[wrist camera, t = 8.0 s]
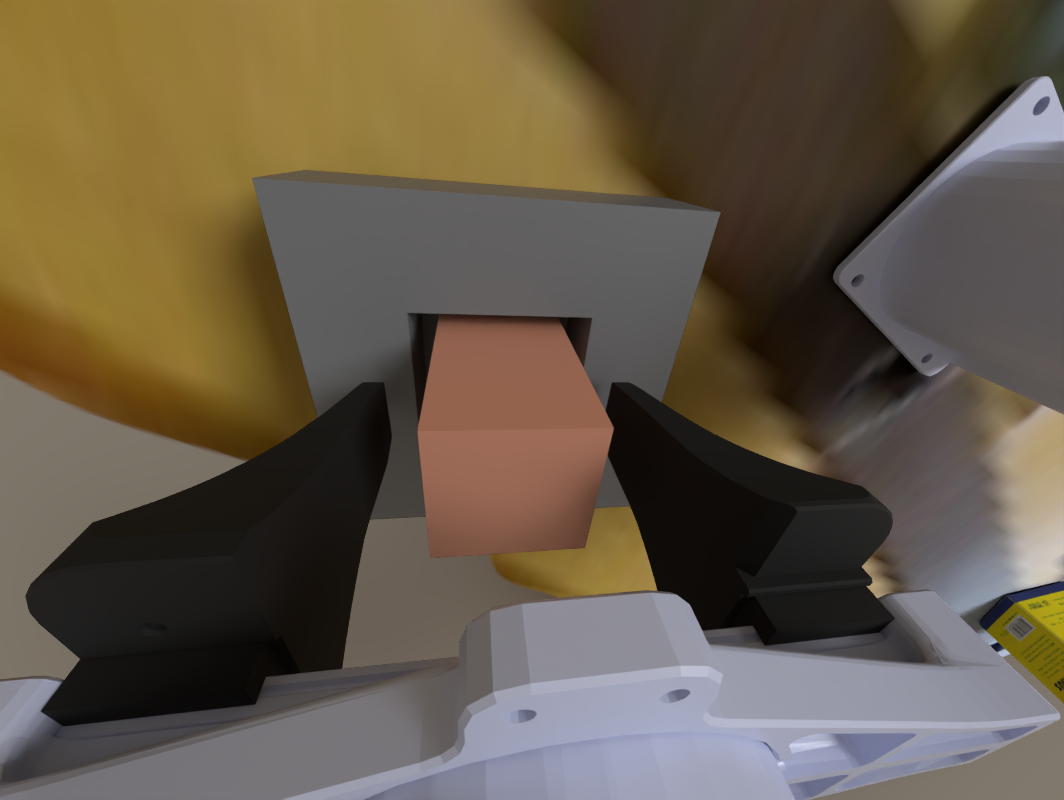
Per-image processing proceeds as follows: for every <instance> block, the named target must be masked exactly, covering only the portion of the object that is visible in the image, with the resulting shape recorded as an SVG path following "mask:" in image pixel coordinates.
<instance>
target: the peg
mask: <svg viewBox="0 0 1064 800" xmlns="http://www.w3.org/2000/svg"><path fill="white" fill-rule="evenodd" d="M613 430H614V427H613V425H612V423H611V421H610V419H609V417H608V415H607V413H606V411H605V409H604V407H603V405H602V404H601V402H600V400H599V398H598V396H597V394H596V392H595V390H594V388H593V386H592V384H591V382H590V380H589V378H588V376H587V374H586V372H585V370H584V368H583V366H582V364H581V362H580V360H579V358H578V356H577V354H576V352H575V350H574V348H573V346H572V344H571V342H570V340H569V338H568V336H567V334H566V332H565V330H564V328H563V326H562V324H561V322H560V320H559V318H558V317H545V316H507V315H470V314H439V319H438V325H437V330H436V335H435V340H434V346H433V351H432V356H431V362H430V367H429V372H428V378H427V383H426V388H425V394H424V399H423V404H422V410H421V415H420V420H419V425H418V431H417V432H418V442H419V452H420V462H421V471H422V481H423V491H424V501H425V510H426V519H427V530H428V539H429V548H430V558H439V557H455V556H470V555H485V554H500V553H515V552H531V551H546V550H561V549H576V548H585V545H586V541H587V537H588V533H589V529H590V525H591V520H592V516H593V512H594V508H595V504H596V500H597V496H598V491H599V487H600V483H601V479H602V475H603V471H604V467H605V463H606V458H607V454H608V450H609V446H610V442H611V438H612V434H613Z"/></svg>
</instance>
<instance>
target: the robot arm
mask: <svg viewBox="0 0 1064 800" xmlns="http://www.w3.org/2000/svg"><path fill="white" fill-rule="evenodd" d="M855 277H856V278H855ZM854 278H855V280H854V281H853V282H852V280H853V279H854ZM833 280H834V282H835V283H836V284H837V285H838V286H839V287H840V288H841V289H842V291H843V292H844V293H845V294H846V295H847V296H848V297H849V298H850V299H851V300H852V301H853V302H854V303H855V304H856V305H857V307H858V308H859V309H860V310H861V311H862V312H863V313H864V314H865V315H866V316H867V317H868V318H869V319H870V320H871V321H872V323H873V324H874V325H875V326H876V327H877V328H878V329H879V330H880V331H881V332H882V333H883V334H884V335H885V336H886V337H887V339H888V340H889V341H890V342H891V343H892V344H893V345H894V346H895V347H896V348H897V349H898V350H899V351H900V352H901V353H902V354H903V356H904V357H905V358H906V359H907V360H908V361H909V362H910V363H911V364H912V365H913V366H914V367H915V368H916V369H917V370H918V372H920V373H922V374H924V375H926V376H931V375H934V374H936V373H938V372H939V371H940V370H942V369H943V368H944V367H946V366H947V365H948V364H949V363H951V364H954V365H956V366H958V367H960V368H962V369H965V370H967V371H969V372H971V373H973V374H976V375H978V376H980V377H982V378H985V379H987V380H989V381H991V382H993V383H996V384H998V385H1000V386H1002V387H1004V388H1007V389H1009V390H1011V391H1013V392H1015V393H1018V394H1020V395H1022V396H1024V397H1026V398H1029V399H1031V400H1033V401H1035V402H1037V403H1040V404H1042V405H1044V406H1046V407H1048V408H1051V409H1053V410H1055V411H1057V412H1059V413H1062V414H1064V112H1063V110H1062V107H1061V104H1060V102H1059V99H1058V96H1057V93H1056V91H1055V88H1054V85H1053V83H1052V80H1051V79H1050V78H1049V77H1044V76H1043V77H1035V78H1031V79H1029V80H1026V81H1025V82H1024V83H1023V84H1022V85H1020V86H1019V87H1018V88H1017V89H1016V90H1015V91H1014V92H1013V93H1012V94H1011V95H1010V96H1009V97H1008V98H1007V99H1006V100H1005V101H1004V102H1003V103H1002V104H1001V105H1000V106H999V107H998V108H997V109H996V110H995V111H994V112H993V113H992V114H991V115H990V116H989V117H988V118H987V119H986V120H985V121H984V122H983V123H982V124H981V125H980V126H979V127H978V128H977V129H976V130H975V131H974V132H973V133H972V134H971V135H970V136H969V137H968V138H967V139H966V140H965V141H964V142H963V143H962V144H961V145H960V146H959V147H958V148H957V149H956V150H955V151H954V152H953V153H952V154H951V155H950V156H949V157H948V158H947V159H946V160H945V161H944V162H943V163H942V164H941V165H940V166H939V167H938V168H937V169H936V170H935V171H934V172H933V173H932V174H931V175H930V176H929V177H927V178H926V179H925V180H924V181H923V182H922V183H921V184H920V185H919V186H918V187H917V188H916V189H915V190H914V191H913V192H912V193H911V194H910V195H909V196H908V197H907V198H906V199H905V200H904V201H903V202H902V203H901V204H900V205H899V206H898V207H897V208H896V209H895V210H894V211H893V212H892V213H891V214H890V215H889V216H888V217H887V218H886V219H885V220H884V221H883V222H882V223H881V224H880V225H879V226H878V227H877V228H876V229H875V230H874V231H873V232H872V233H871V234H870V235H869V236H868V237H867V238H866V239H865V240H864V241H863V242H862V243H861V244H860V245H859V246H858V247H857V248H856V249H855V250H854V251H853V252H852V253H851V254H850V255H849V256H848V257H847V258H846V259H845V260H844V261H843V262H842V263H841V264H840V265H839V266H838V267H837V268H836V270H835V272H834V274H833ZM606 413H607V415H608V417H609V419H610V421H611V423H612V425H613V427H614V430H613V434H612V438H611V442H610V446H609V450H608V454H607V455H608V458H609V460H610V463H611V465H612V467H613V469H614V472H615V474H616V476H617V478H618V480H619V483H620V485H621V487H622V489H623V491H624V494H625V496H626V498H627V500H628V502H629V505H630V507H631V509H632V511H633V514H634V516H635V519H636V521H637V524H638V527H639V530H640V533H641V536H642V539H643V542H644V546H645V549H646V552H647V555H648V559H649V562H650V565H651V569H652V572H653V576H654V579H655V583H656V587H657V590H658V591H649V590H645V591H633V592H622V593H610V594H599V595H587V596H575V597H564V598H553V599H541V600H530V601H519V602H515V603H511V604H507V605H502V606H498V607H494V608H491V609H490V610H488V611H487V612H485V613H483V614H482V615H480V616H479V617H477V618H475V619H474V620H472V621H471V622H470V623H469V624H468V625H467V626H466V629H465V631H464V633H463V635H462V637H461V639H460V641H459V657H450V658H440V659H431V660H422V661H412V662H403V663H393V664H384V665H374V666H365V667H355V668H346V669H342V665H343V658H344V651H345V644H346V637H347V632H348V626H349V619H350V613H351V607H352V601H353V596H354V590H355V584H356V578H357V573H358V568H359V563H360V558H361V553H362V548H363V543H364V538H365V535H366V531H367V527H368V523H369V520H370V517H371V514H372V511H373V508H374V505H375V502H376V499H377V496H378V492H379V489H380V486H381V483H382V480H383V477H384V473H385V470H386V467H387V464H388V458H389V452H390V446H391V440H392V432H391V425H390V418H389V412H388V405H387V398H386V392H385V385H384V382H362V383H361V384H360V385H358V386H357V387H356V388H355V389H353V390H352V391H351V392H350V393H348V394H347V395H346V396H345V397H343V398H342V399H341V400H340V401H339V402H337V403H336V404H335V405H333V406H332V407H331V408H330V409H328V410H327V411H326V412H325V413H323V414H322V415H321V416H319V417H318V418H317V419H315V420H314V421H312V422H311V423H309V424H308V425H307V426H305V427H304V428H302V429H301V430H300V431H298V432H297V433H295V434H294V435H292V436H291V437H289V438H288V439H286V440H285V441H283V442H281V443H280V444H278V445H276V446H275V447H273V448H271V449H269V450H268V451H266V452H264V453H262V454H261V455H259V456H257V457H255V458H253V459H251V460H249V461H247V462H245V463H243V464H241V465H239V466H237V467H235V468H233V469H231V470H229V471H227V472H225V473H223V474H221V475H219V476H216V477H214V478H212V479H210V480H207V481H205V482H203V483H201V484H198V485H196V486H193V487H191V488H188V489H186V490H183V491H181V492H179V493H176V494H173V495H171V496H168V497H166V498H163V499H160V500H158V501H155V502H152V503H149V504H147V505H143V506H140V507H138V508H134V509H132V510H129V511H126V512H123V513H120V514H117V515H114V516H111V517H108V518H105V519H102V520H99V521H96V522H93V523H92V524H91V525H90V526H89V527H88V528H87V529H86V530H85V531H84V532H83V533H82V534H81V535H80V536H79V537H78V538H77V539H76V540H75V541H74V542H73V543H72V544H71V545H70V546H69V547H68V548H67V549H66V550H65V551H64V552H63V553H62V554H61V555H60V556H59V557H58V558H57V559H55V561H53V562H52V563H51V564H50V565H49V566H48V567H47V568H46V569H45V571H43V572H42V574H40V576H39V577H37V578H36V579H35V580H34V581H33V582H32V583H31V585H30V587H29V589H28V591H27V594H26V600H27V605H28V609H29V612H30V613H31V615H32V616H33V617H34V618H35V619H36V620H37V621H38V623H39V624H40V625H41V626H42V627H44V628H45V629H46V630H47V631H48V632H49V633H51V634H52V635H53V636H54V637H55V638H57V639H58V640H59V641H60V642H61V643H62V644H64V645H65V646H66V647H67V648H68V649H69V650H70V651H72V652H73V653H74V654H75V655H76V656H78V657H79V658H80V660H79V662H78V663H77V664H76V666H75V667H74V668H73V670H72V671H71V672H70V673H69V675H68V676H67V677H66V679H65V680H62V679H60V678H55V677H50V676H31V677H20V678H10V679H0V800H810V799H814V798H818V797H822V796H826V795H829V794H834V793H838V792H842V791H846V790H850V789H854V788H858V787H862V786H866V785H870V784H874V783H878V782H882V781H886V780H890V779H895V778H899V777H903V776H908V775H913V774H917V773H921V772H926V771H931V770H936V769H941V768H946V767H951V766H956V765H961V764H966V763H970V762H972V761H974V760H976V759H978V758H980V757H983V756H985V755H987V754H989V753H991V752H993V751H995V750H997V749H999V748H1001V747H1003V746H1005V745H1008V744H1010V743H1012V742H1014V741H1016V740H1018V739H1020V738H1022V737H1024V736H1026V735H1029V734H1031V733H1033V732H1035V731H1037V730H1039V729H1041V728H1043V727H1045V726H1047V725H1049V724H1052V723H1054V722H1056V721H1058V720H1060V713H1059V712H1058V711H1057V710H1056V709H1055V708H1054V707H1053V706H1052V705H1051V704H1050V703H1049V702H1048V701H1047V700H1046V699H1045V698H1043V697H1042V696H1041V695H1040V694H1039V693H1038V692H1037V691H1036V690H1035V689H1034V688H1033V687H1032V686H1031V685H1030V684H1029V683H1028V682H1027V681H1026V680H1025V679H1024V678H1023V677H1022V676H1020V674H1019V673H1018V672H1017V671H1015V670H1014V669H1013V668H1012V667H1011V666H1010V665H1009V664H1008V663H1007V662H1006V661H1005V660H1004V659H1003V658H1002V657H1001V656H1000V655H999V654H998V653H997V652H996V651H995V650H994V649H993V648H992V647H991V646H990V645H989V644H988V643H986V642H985V641H984V640H983V639H982V638H981V637H980V636H979V635H978V634H977V633H976V632H975V631H974V630H973V629H972V628H971V627H970V626H969V625H968V624H967V623H966V622H965V621H964V620H963V619H962V618H961V617H960V616H958V615H957V614H956V613H955V612H954V611H953V610H952V609H951V608H950V607H949V606H948V605H947V604H946V603H945V602H944V601H943V600H942V599H941V598H940V597H939V596H938V595H937V594H936V593H935V592H934V591H932V590H927V589H926V590H916V591H906V592H895V593H890V594H886V595H884V596H882V597H880V598H878V599H877V598H876V597H875V595H874V594H873V593H872V592H871V591H870V590H869V589H868V588H867V587H866V586H870V585H871V583H872V578H871V577H870V576H869V575H868V574H867V573H866V571H865V570H864V569H863V568H862V565H863V564H864V563H865V562H866V561H867V560H868V559H869V558H870V556H871V555H872V554H873V553H874V552H875V551H876V550H877V549H878V548H879V546H880V545H881V544H882V543H883V542H884V540H885V539H886V538H887V536H888V535H889V533H890V530H891V528H892V524H893V519H892V513H891V512H890V511H889V510H888V508H887V507H886V506H884V505H883V504H882V503H881V502H880V501H879V500H878V499H876V498H875V497H874V496H873V495H872V494H871V493H870V492H868V491H867V490H866V489H865V488H863V487H862V486H859V485H855V484H851V483H848V482H844V481H840V480H836V479H832V478H829V477H825V476H821V475H817V474H814V473H811V472H807V471H804V470H801V469H798V468H795V467H792V466H789V465H786V464H783V463H780V462H778V461H775V460H772V459H769V458H767V457H764V456H762V455H759V454H757V453H754V452H752V451H749V450H747V449H745V448H742V447H740V446H738V445H736V444H733V443H731V442H729V441H727V440H725V439H723V438H721V437H719V436H717V435H715V434H713V433H711V432H709V431H707V430H706V429H704V428H702V427H700V426H699V425H697V424H695V423H694V422H692V421H690V420H688V419H687V418H685V417H683V416H682V415H680V414H679V413H677V412H676V411H674V410H672V409H671V408H669V407H668V406H666V405H665V404H663V403H662V402H660V401H659V400H657V399H656V398H654V397H653V396H651V395H650V394H648V393H647V392H645V391H644V390H642V389H640V388H639V387H637V386H635V385H634V384H632V383H630V382H612V384H611V388H610V393H609V397H608V402H607V406H606Z"/></svg>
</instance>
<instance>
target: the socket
mask: <svg viewBox="0 0 1064 800" xmlns="http://www.w3.org/2000/svg"><path fill="white" fill-rule="evenodd" d="M252 180H253V184H254V187H255V191H256V195H257V198H258V202H259V205H260V209H261V213H262V216H263V220H264V224H265V227H266V231H267V235H268V238H269V242H270V246H271V249H272V253H273V257H274V260H275V264H276V267H277V271H278V275H279V278H280V282H281V286H282V289H283V293H284V297H285V300H286V304H287V308H288V311H289V315H290V319H291V322H292V326H293V329H294V333H295V337H296V340H297V344H298V348H299V351H300V355H301V359H302V362H303V366H304V370H305V373H306V377H307V381H308V384H309V388H310V391H311V395H312V399H313V402H314V406H315V410H316V413H317V417H319V416H321V415H322V414H323V413H325V412H326V411H327V410H328V409H330V408H331V407H332V406H333V405H335V404H336V403H337V402H339V401H340V400H341V399H342V398H343V397H345V396H346V395H347V394H348V393H350V392H351V391H352V390H353V389H355V388H356V387H357V386H358V385H360V384H361V383H362V382H384V385H385V392H386V398H387V405H388V412H389V418H390V425H391V432H392V440H391V446H390V452H389V458H388V464H387V467H386V470H385V473H384V477H383V480H382V483H381V486H380V489H379V492H378V496H377V499H376V502H375V505H374V508H373V511H372V514H371V517H370V519H389V518H408V517H426V510H425V501H424V491H423V481H422V471H421V462H420V452H419V442H418V432H417V431H418V425H419V420H420V415H421V410H422V404H423V399H424V394H425V388H426V383H427V378H428V372H429V367H430V362H431V356H432V351H433V346H434V340H435V335H436V330H437V325H438V319H439V314H470V315H507V316H545V317H558V318H559V320H560V322H561V324H562V326H563V328H564V330H565V332H566V334H567V336H568V338H569V340H570V342H571V344H572V346H573V348H574V350H575V352H576V354H577V356H578V358H579V360H580V362H581V364H582V366H583V368H584V370H585V372H586V374H587V376H588V378H589V380H590V382H591V384H592V386H593V388H594V390H595V392H596V394H597V396H598V398H599V400H600V402H601V404H602V405H603V407H604V409H605V411H606V406H607V402H608V397H609V393H610V388H611V384H612V382H630V383H632V384H634V385H635V386H637V387H639V388H640V389H642V390H644V391H645V392H647V393H648V394H650V395H651V396H653V397H654V398H656V399H657V400H659V401H660V402H662V400H663V396H664V393H665V390H666V387H667V383H668V380H669V377H670V374H671V370H672V367H673V364H674V361H675V358H676V354H677V351H678V348H679V345H680V341H681V338H682V335H683V332H684V329H685V325H686V322H687V319H688V316H689V312H690V309H691V306H692V303H693V299H694V296H695V293H696V290H697V287H698V283H699V280H700V277H701V274H702V270H703V267H704V264H705V261H706V258H707V254H708V251H709V248H710V245H711V241H712V238H713V235H714V232H715V228H716V225H717V222H718V219H719V216H720V212H718V211H714V210H710V209H707V208H703V207H699V206H695V205H692V204H688V203H684V202H680V201H677V200H673V199H669V198H659V197H646V196H633V195H620V194H607V193H595V192H582V191H569V190H556V189H543V188H530V187H517V186H504V185H491V184H479V183H466V182H453V181H440V180H427V179H414V178H401V177H388V176H375V175H363V174H350V173H337V172H324V171H311V170H302V171H295V172H289V173H282V174H275V175H268V176H261V177H255V178H252ZM625 506H630V505H629V502H628V500H627V498H626V496H625V494H624V491H623V489H622V487H621V485H620V483H619V480H618V478H617V476H616V474H615V472H614V469H613V467H612V465H611V463H610V460H609V458H608V455H607V458H606V463H605V467H604V471H603V475H602V479H601V483H600V487H599V491H598V496H597V500H596V504H595V508H605V507H625Z"/></svg>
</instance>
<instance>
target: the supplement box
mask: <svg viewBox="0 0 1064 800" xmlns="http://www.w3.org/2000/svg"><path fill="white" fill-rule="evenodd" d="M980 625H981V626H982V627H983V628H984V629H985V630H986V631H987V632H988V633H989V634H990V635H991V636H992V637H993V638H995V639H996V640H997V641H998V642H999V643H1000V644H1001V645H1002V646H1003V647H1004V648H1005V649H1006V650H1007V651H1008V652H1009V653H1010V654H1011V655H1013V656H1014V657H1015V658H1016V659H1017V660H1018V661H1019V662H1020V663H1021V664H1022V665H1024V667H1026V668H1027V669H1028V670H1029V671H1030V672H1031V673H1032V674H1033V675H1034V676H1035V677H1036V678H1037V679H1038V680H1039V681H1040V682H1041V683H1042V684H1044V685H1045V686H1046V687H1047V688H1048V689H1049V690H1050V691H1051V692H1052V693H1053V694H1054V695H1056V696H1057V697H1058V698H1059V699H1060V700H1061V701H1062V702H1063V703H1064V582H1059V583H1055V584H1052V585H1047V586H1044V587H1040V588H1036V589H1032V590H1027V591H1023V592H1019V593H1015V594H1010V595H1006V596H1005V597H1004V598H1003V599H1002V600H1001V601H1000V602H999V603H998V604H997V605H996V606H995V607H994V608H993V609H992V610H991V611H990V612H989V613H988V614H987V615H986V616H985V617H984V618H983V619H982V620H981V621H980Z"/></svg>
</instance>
